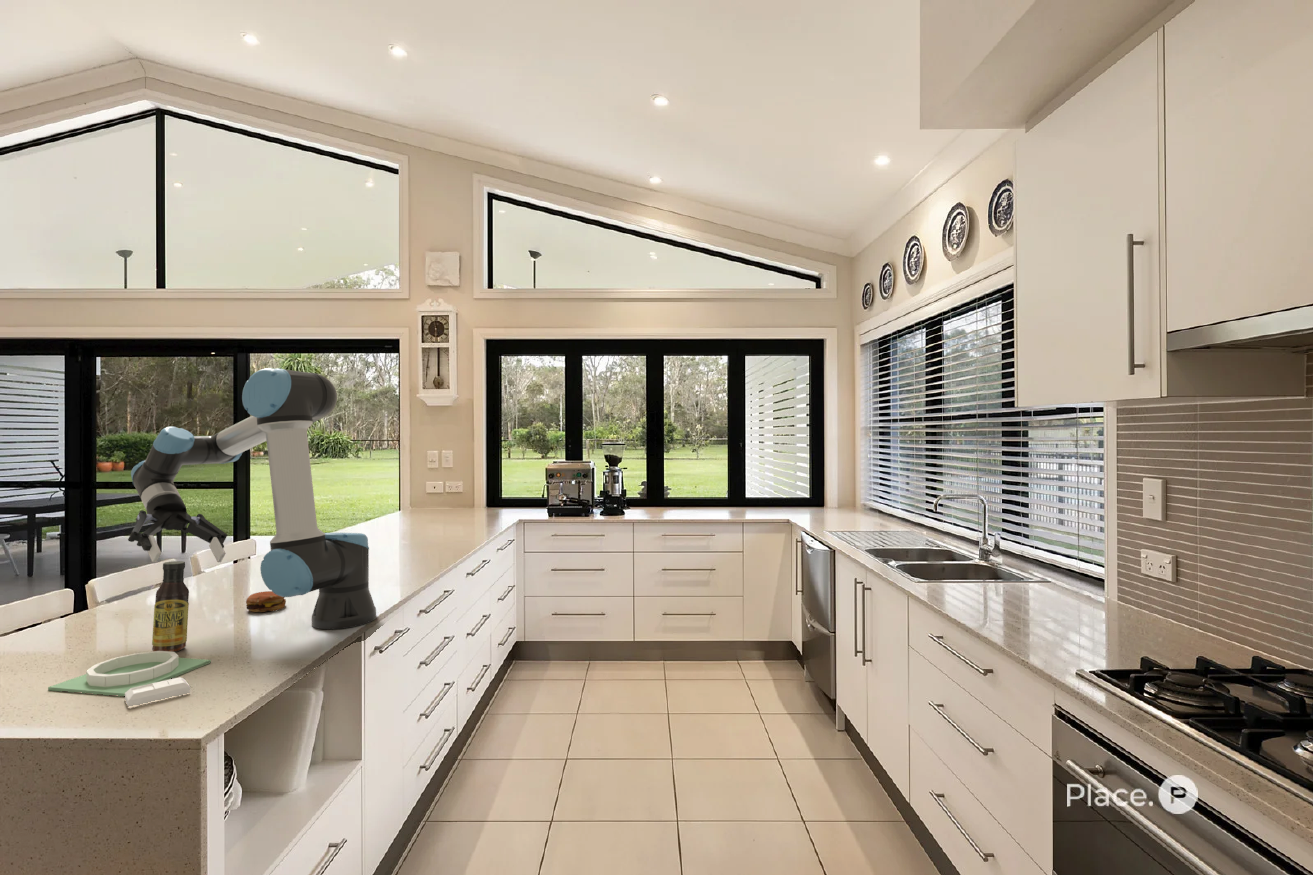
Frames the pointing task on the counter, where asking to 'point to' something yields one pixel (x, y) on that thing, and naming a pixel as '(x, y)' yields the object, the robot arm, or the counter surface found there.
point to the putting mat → (124, 688)
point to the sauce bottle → (171, 610)
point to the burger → (265, 602)
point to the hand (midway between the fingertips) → (190, 557)
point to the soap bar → (156, 691)
